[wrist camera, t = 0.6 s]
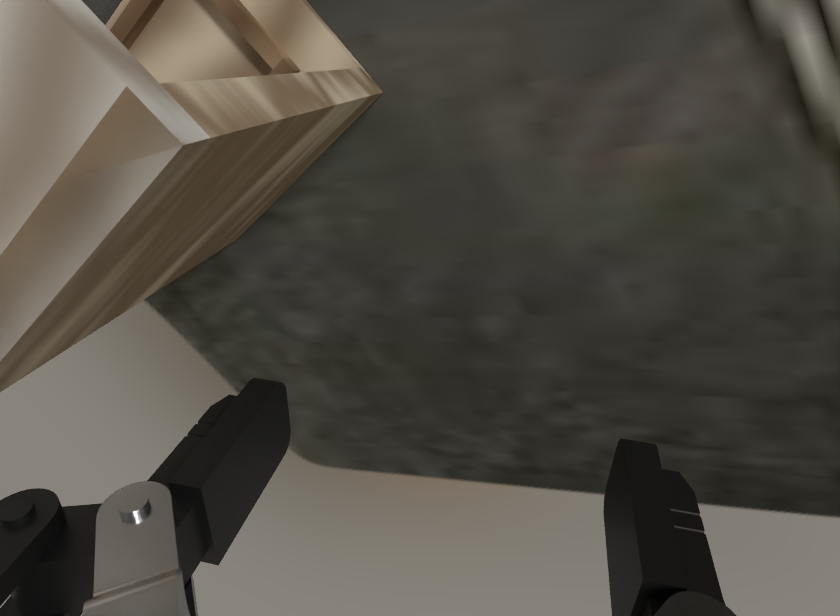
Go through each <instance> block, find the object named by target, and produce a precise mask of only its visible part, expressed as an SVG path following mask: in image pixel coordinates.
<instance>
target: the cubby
mask: <svg viewBox="0 0 840 616" xmlns="http://www.w3.org/2000/svg"><path fill="white" fill-rule="evenodd" d="M382 93H383V91H382V90H381V89H380V87H379V86H378V85H377V84H376V83H375V82H374V80H373V79H372V78H371V77H370V76H369V74H368V73H367V72H366V71H365V70H364V68H363V67H362V66H361V65H360V64H359V63H358V61H357V60H356V59H355V58H354V57H353V55H352V54H351V53H350V52H349V51H348V50H347V48H346V47H345V46H344V45H343V44H342V42H341V41H340V40H339V39H338V38H337V36H336V35H335V34H334V33H333V32H332V31H331V29H330V28H329V27H328V26H327V25H326V23H325V22H324V21H323V20H322V19H321V18H320V16H319V15H318V14H317V13H316V12H315V10H314V9H313V8H312V7H311V6H310V4H309V3H308V2H307V1H306V0H122V2H121V3H120V5H119V6H118V8H117V9H116V11H115V12H114V13H113V15H112V16H111V18H110V19H109V21H108V22H107V24H106V25H104V24H103V23H102V22H101V21H100V20H99V19H98V18H97V16H96V15H95V14H94V13H93V12H92V11H91V10H90V9H89V8H88V7H87V6H86V5H85V4H84V3H83V2H82V1H81V0H0V392H1V391H3V390H4V389H6V388H7V387H9V386H10V385H12V384H14V383H15V382H17V381H18V380H20V379H21V378H23V377H24V376H26V375H27V374H29V373H31V372H32V371H34V370H35V369H37V368H38V367H40V366H41V365H43V364H44V363H46V362H48V361H49V360H51V359H52V358H54V357H55V356H57V355H58V354H60V353H62V352H63V351H65V350H66V349H68V348H69V347H71V346H72V345H74V344H76V343H77V342H79V341H80V340H82V339H83V338H85V337H86V336H88V335H90V334H91V333H93V332H94V331H96V330H97V329H99V328H100V327H102V326H103V325H105V324H107V323H108V322H110V321H111V320H113V319H114V318H116V317H117V316H119V315H121V314H122V313H124V312H125V311H127V310H128V309H130V308H131V307H133V306H135V305H136V304H138V303H139V302H141V301H142V300H144V299H145V298H147V297H148V296H150V295H152V294H153V293H155V292H156V291H158V290H159V289H161V288H162V287H164V286H166V285H167V284H169V283H170V282H172V281H173V280H175V279H176V278H178V277H180V276H181V275H183V274H184V273H186V272H187V271H189V270H190V269H192V268H193V267H195V266H197V265H198V264H200V263H201V262H203V261H204V260H206V259H207V258H209V257H211V256H212V255H214V254H215V253H217V252H218V251H220V250H221V249H223V248H224V247H226V246H228V245H229V244H231V243H232V242H234V241H235V240H237V239H238V238H239V237H240V236H241V235H242V234H243V233H244V232H245V231H246V230H247V229H248V228H249V227H250V226H251V225H252V224H253V223H254V222H255V221H256V220H257V219H258V218H259V217H260V216H261V215H262V214H263V213H264V212H265V211H266V210H267V209H268V208H269V207H270V206H271V205H272V204H273V203H274V202H275V201H276V200H277V199H278V198H279V197H280V196H281V195H282V194H283V193H284V192H285V191H286V190H287V189H288V188H289V187H290V186H291V185H292V184H293V183H294V182H295V181H296V180H297V179H298V178H299V177H300V176H301V175H302V174H303V173H304V172H305V171H306V170H307V169H308V168H309V167H310V166H311V165H312V164H313V163H314V162H315V161H316V160H317V159H318V158H319V157H320V156H321V155H322V154H323V153H324V152H325V151H326V150H327V149H328V148H329V147H330V146H331V145H332V144H333V143H334V142H335V141H336V140H337V138H338V137H339V136H340V135H341V134H342V133H343V132H344V131H345V130H346V129H347V128H348V127H349V126H350V125H351V124H352V123H353V122H354V121H355V120H356V119H357V118H358V117H359V116H360V115H361V114H362V113H363V112H364V111H365V110H366V109H367V108H368V107H369V106H370V105H371V104H372V103H373V102H374V101H375V100H376V99H377V98H378V97H379V96H380V95H381V94H382Z"/></svg>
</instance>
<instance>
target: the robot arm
mask: <svg viewBox="0 0 840 616" xmlns="http://www.w3.org/2000/svg"><path fill="white" fill-rule="evenodd" d="M289 441H290V421H289V411H288V402H287V393H286V387H285V385H284V383H282V382H276V381H270V380H264V379H258V378H253V379H251V380H250V381H249V382H248V383H247V385H246V386H245V387H244V388H243V390H242V391H241V392H240V393H239V395H238V396H233V395H228V396H227V397H225V398H223V399H222V400H220V401H219V402H217V403H215V404H214V405H212V406H211V407H210V408H209V409H208V410H207V411H206V413H205V414H204V415H203V416H202V417H201V418H200V420H199V421H198V424H195V425H194V427H193V428H192V429H191V430H190V431H189V433H188V436H186V437H184V438H183V440H182V441H181V442H180V443H179V444H178V445H177V447H176V448H175V449H174V450H173V451H172V453H171V454H170V455H169V456H168V457H167V459H166V460H165V461H164V462H163V463H162V464H161V465H160V467H159V468H158V469H157V470H156V471H155V473H154V474H153V475H152V476H151V477H150V479H149V480H148V481H145V482H138V483H133V484H130V485H127V486H125V487H123V488H121V489H119V490H117V491H116V492H114V493H113V494H111V495H110V496H109V497H108V498H107V499H106V500H105V501H104V502H103V503H102V504H91V505H79V506H66V507H62V506H61V504H60V501H59V499H58V497H57V495H56V494H55V493H54V492H52V491H50V490H46V489H28V490H24V491H20V492H17V493H15V494H12V495H10V496H8V497H6V498H4V499H2V500H0V606H1V605H2V603H3V602H4V601H5V600H6V599H7V598H8V596H9V595H11V596H10V598H9V599H8V600H7V601H6V602H5V604H4V605H3V606H2V607H1V608H0V616H81V614H82V613H83V614H82V616H198V612H197V604H196V596H195V588H194V581H193V577H192V574H193V572H194V571H195V569H196V568H197V566H198V565H199V563H200V561H202V562H206V563H211V564H215V565H219V563H220V562H221V560H222V558H223V557H224V555H225V553H226V552H227V550H228V548H229V547H230V545H231V543H232V542H233V540H234V538H235V537H236V535H237V533H238V532H239V530H240V528H241V527H242V525H243V523H244V522H245V520H246V518H247V517H248V515H249V513H250V512H251V510H252V508H253V507H254V505H255V503H256V502H257V500H258V498H259V497H260V495H261V493H262V492H263V490H264V488H265V487H266V485H267V483H268V482H269V480H270V478H271V477H272V475H273V473H274V472H275V470H276V468H277V467H278V465H279V463H280V462H281V460H282V458H283V457H284V455H285V453H286V451H287V448H288V445H289ZM604 523H605V535H606V547H607V559H608V571H609V583H610V595H611V607H612V616H736V615H735V614H734V613H733V612H732V611H731V610H730V609H729V608H728V607H726V605H725V603H724V600H723V597H722V593H721V589H720V586H719V582H718V578H717V575H716V571H715V567H714V563H713V560H712V556H711V552H710V549H709V545H708V541H707V537H706V535H705V534H704V526H703V523H702V519H701V517H700V511H699V508H698V504H697V500H696V497H695V493H694V491H693V490H692V488H691V487H690V486H689V484H688V483H687V482H686V480H685V479H684V478H683V476H682V475H681V474H680V473H679V472H676V471H670V470H664V469H662V468H661V463H660V458H659V454H658V449H657V446H656V445H655V444H651V443H645V442H639V441H633V440H627V439H620V440H619V442H618V444H617V448H616V452H615V455H614V459H613V463H612V467H611V470H610V474H609V478H608V482H607V485H606V490H605V497H604Z"/></svg>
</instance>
